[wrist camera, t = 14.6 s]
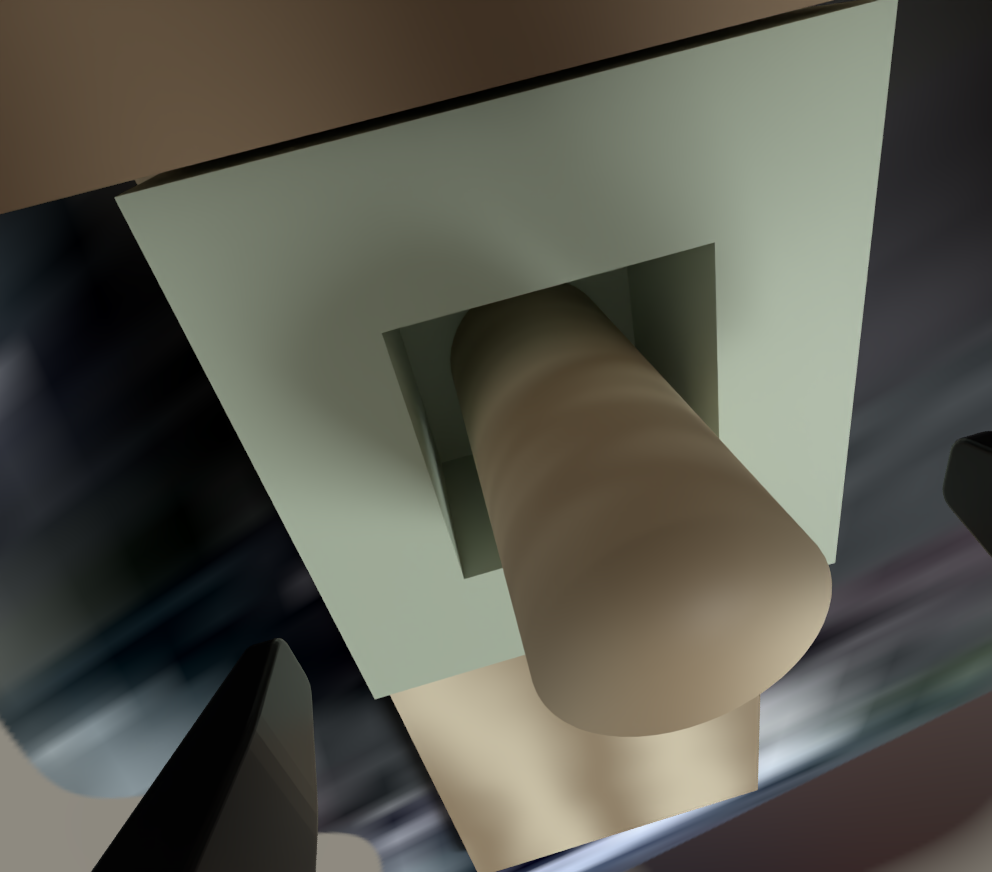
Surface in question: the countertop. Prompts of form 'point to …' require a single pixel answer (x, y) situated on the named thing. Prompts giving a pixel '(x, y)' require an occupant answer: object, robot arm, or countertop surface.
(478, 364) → the dowel
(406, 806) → the countertop surface
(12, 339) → the countertop surface
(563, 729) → the wall board
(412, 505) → the socket block
